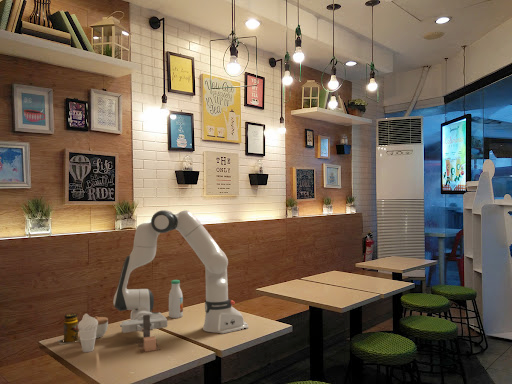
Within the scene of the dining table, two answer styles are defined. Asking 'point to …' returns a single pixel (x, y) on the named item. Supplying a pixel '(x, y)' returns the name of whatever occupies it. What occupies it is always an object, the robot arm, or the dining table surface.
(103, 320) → the lidded jar
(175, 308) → the milk bottle
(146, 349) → the terracotta block
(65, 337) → the condiment
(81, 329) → the soft serve ice cream cone
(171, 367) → the dining table surface
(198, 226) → the robot arm
